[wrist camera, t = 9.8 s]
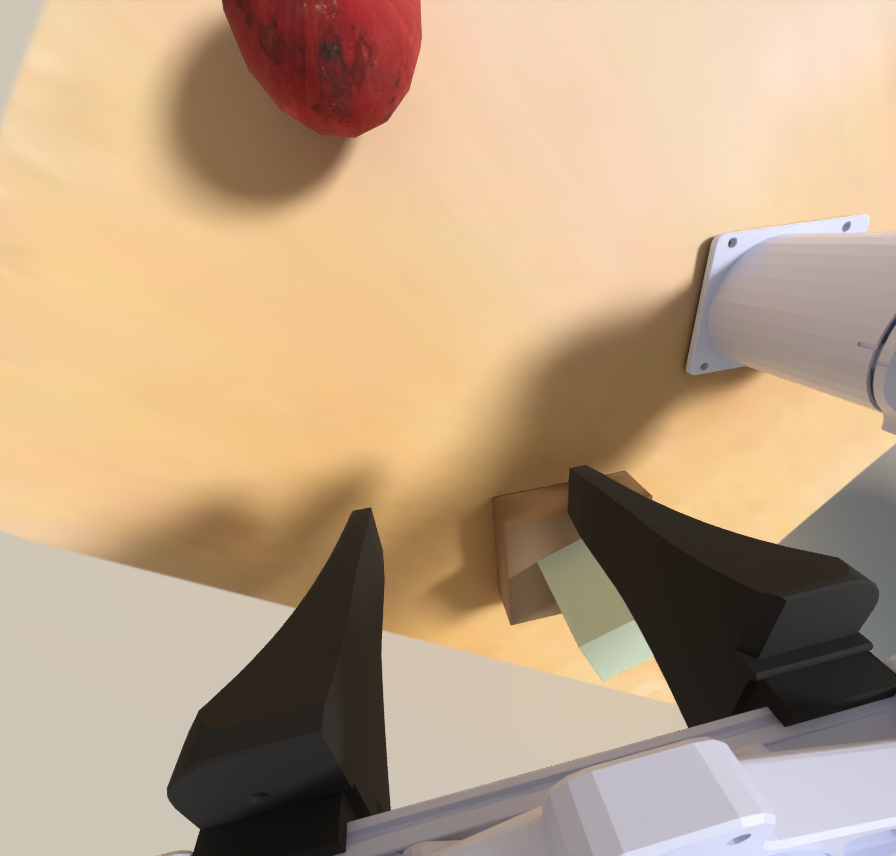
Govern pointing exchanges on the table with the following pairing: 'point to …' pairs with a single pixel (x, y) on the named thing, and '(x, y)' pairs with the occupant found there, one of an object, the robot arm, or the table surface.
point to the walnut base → (535, 545)
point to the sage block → (594, 611)
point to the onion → (330, 57)
